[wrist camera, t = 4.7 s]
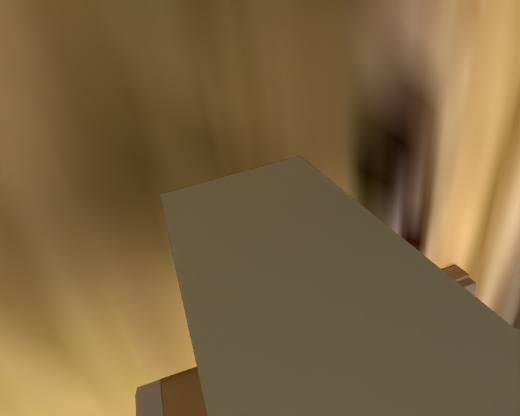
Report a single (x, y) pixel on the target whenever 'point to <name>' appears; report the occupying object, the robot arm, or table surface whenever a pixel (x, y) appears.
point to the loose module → (327, 307)
